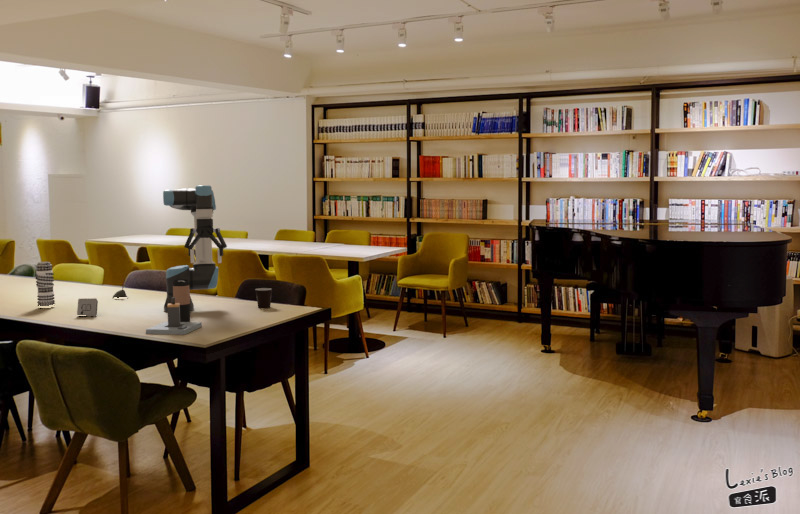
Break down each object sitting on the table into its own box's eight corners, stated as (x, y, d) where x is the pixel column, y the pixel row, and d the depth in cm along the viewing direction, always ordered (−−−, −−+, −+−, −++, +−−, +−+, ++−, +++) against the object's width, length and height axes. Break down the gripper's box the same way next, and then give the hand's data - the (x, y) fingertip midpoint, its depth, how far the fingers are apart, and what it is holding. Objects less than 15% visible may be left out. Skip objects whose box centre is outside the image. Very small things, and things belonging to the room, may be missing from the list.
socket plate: (146, 333, 313) (145, 327, 313) (165, 325, 331) (164, 320, 331) (184, 334, 311) (184, 328, 310) (201, 326, 328) (201, 321, 328)
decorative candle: (55, 305, 392) (53, 261, 390) (55, 308, 384) (53, 262, 381) (37, 307, 388) (34, 261, 386) (36, 309, 380) (34, 263, 377)
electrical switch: (76, 317, 356) (76, 298, 356) (81, 316, 361) (81, 298, 361) (95, 317, 356) (95, 298, 356) (99, 316, 361) (99, 298, 361)
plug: (169, 329, 322) (167, 296, 321) (180, 328, 324) (179, 296, 322) (168, 331, 318) (167, 298, 316) (180, 330, 319) (178, 298, 317)
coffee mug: (268, 309, 374) (268, 290, 373) (253, 308, 376) (252, 290, 375) (276, 305, 386) (276, 287, 385) (262, 305, 387) (261, 287, 386)
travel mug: (176, 320, 346) (174, 279, 344) (192, 319, 346) (190, 279, 344) (172, 322, 338) (170, 281, 336) (188, 322, 339) (187, 281, 337)
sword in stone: (108, 298, 417) (108, 278, 416) (120, 297, 423) (120, 277, 422) (119, 300, 411) (119, 279, 410) (131, 299, 418) (130, 278, 417)
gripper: (232, 217, 335) (234, 262, 337) (183, 217, 339) (184, 261, 341) (226, 218, 328) (228, 263, 330) (176, 218, 332) (177, 263, 334)
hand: (206, 262), depth 336 cm, fingers open, 13 cm apart
